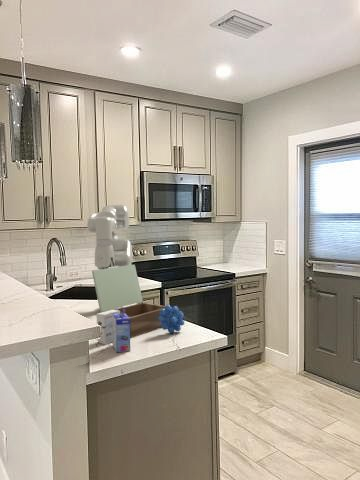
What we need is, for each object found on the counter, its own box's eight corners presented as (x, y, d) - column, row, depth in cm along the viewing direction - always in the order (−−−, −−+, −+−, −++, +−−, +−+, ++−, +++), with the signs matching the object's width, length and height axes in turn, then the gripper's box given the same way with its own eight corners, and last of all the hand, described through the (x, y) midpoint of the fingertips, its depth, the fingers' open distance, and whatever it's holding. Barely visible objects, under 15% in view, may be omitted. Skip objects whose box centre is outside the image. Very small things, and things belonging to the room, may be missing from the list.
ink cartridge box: (131, 351, 143) (130, 312, 143) (116, 353, 142) (114, 313, 141) (127, 343, 153) (125, 306, 152) (112, 345, 151) (111, 308, 150)
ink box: (113, 337, 162) (112, 308, 161) (121, 339, 159) (120, 310, 158) (97, 342, 155) (95, 313, 154) (105, 344, 152) (103, 314, 151)
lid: (101, 311, 172) (99, 312, 173) (142, 301, 190) (140, 302, 191) (93, 269, 174) (90, 270, 175) (134, 263, 192) (132, 264, 193)
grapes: (162, 337, 159) (161, 308, 158) (156, 333, 165) (155, 305, 164) (188, 333, 163) (187, 304, 163) (182, 329, 169) (181, 301, 169)
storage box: (103, 330, 172) (102, 312, 172) (143, 318, 190) (142, 302, 190) (131, 337, 160) (130, 318, 160) (171, 324, 178) (170, 307, 178)
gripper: (88, 243, 189) (90, 281, 190) (108, 243, 179) (109, 283, 180) (100, 242, 195) (102, 279, 195) (120, 242, 185) (122, 281, 186)
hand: (105, 281), depth 188 cm, fingers closed
